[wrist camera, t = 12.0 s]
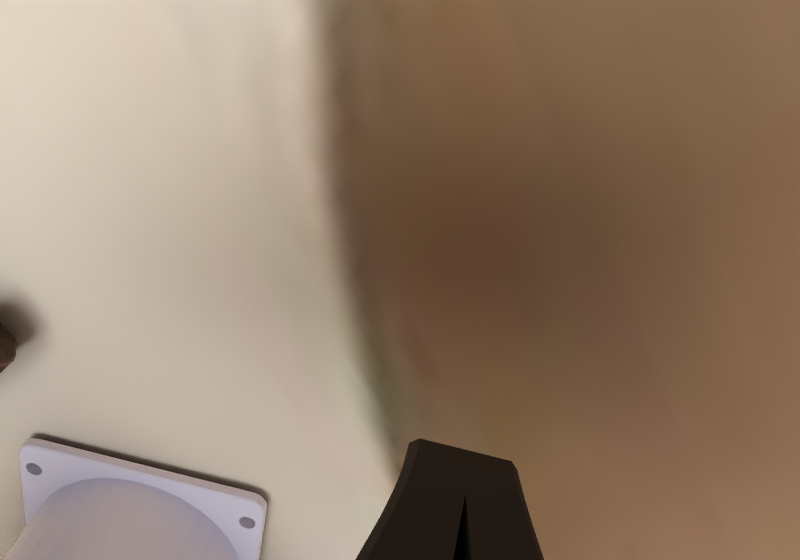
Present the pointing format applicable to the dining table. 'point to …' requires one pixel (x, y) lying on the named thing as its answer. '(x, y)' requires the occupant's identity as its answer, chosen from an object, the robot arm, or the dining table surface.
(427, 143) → the dining table surface
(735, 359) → the dining table surface
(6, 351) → the bolt
